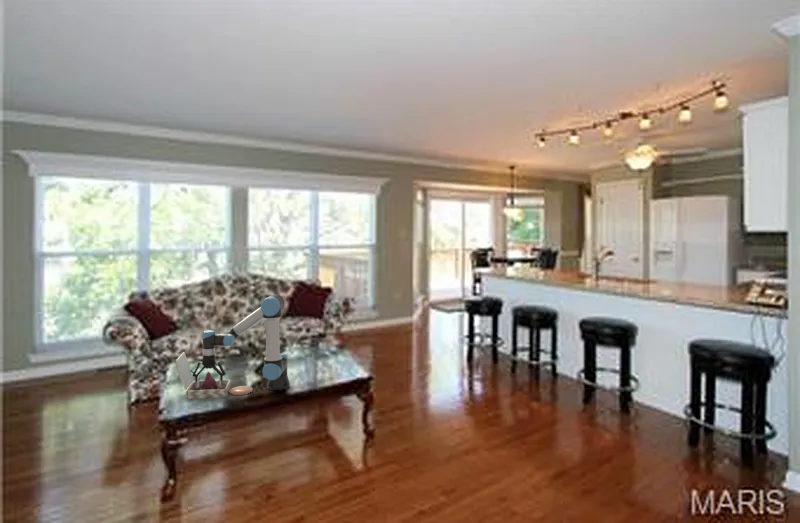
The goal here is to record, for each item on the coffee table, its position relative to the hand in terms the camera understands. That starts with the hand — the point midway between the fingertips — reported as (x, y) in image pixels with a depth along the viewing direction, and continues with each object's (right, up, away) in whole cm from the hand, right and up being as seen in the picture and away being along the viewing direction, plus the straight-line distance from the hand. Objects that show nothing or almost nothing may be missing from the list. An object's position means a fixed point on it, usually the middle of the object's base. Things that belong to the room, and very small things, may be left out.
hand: (209, 386), depth 326 cm
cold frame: (0, -4, 0) cm, 4 cm away
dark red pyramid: (0, -5, 0) cm, 5 cm away
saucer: (+20, -4, +4) cm, 21 cm away
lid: (-14, +11, -4) cm, 18 cm away
